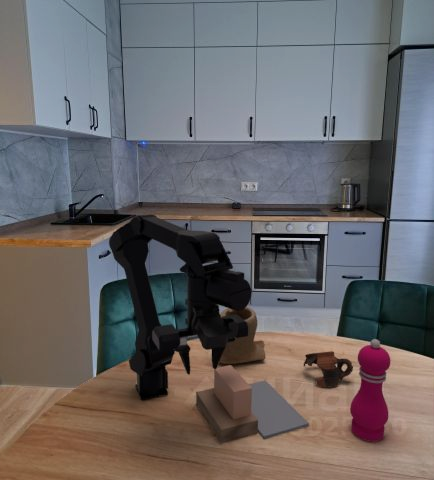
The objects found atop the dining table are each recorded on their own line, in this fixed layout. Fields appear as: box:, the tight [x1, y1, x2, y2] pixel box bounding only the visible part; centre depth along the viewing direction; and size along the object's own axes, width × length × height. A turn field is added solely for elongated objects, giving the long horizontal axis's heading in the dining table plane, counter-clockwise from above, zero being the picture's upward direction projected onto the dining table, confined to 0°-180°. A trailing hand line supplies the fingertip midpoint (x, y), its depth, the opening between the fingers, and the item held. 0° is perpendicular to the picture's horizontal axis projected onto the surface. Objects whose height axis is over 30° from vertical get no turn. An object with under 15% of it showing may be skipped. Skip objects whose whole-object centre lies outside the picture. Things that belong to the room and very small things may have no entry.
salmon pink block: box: [213, 364, 252, 419], centre depth 84 cm, size 4×10×6 cm, turn 23°
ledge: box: [195, 387, 259, 444], centre depth 85 cm, size 8×14×3 cm, turn 23°
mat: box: [248, 379, 310, 440], centre depth 88 cm, size 11×18×1 cm, turn 23°
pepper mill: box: [349, 338, 391, 442], centre depth 79 cm, size 7×7×20 cm
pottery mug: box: [302, 351, 354, 388], centre depth 101 cm, size 12×10×8 cm
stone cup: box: [219, 306, 266, 365], centre depth 109 cm, size 15×12×15 cm
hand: (201, 371), depth 80 cm, fingers open, 5 cm apart
